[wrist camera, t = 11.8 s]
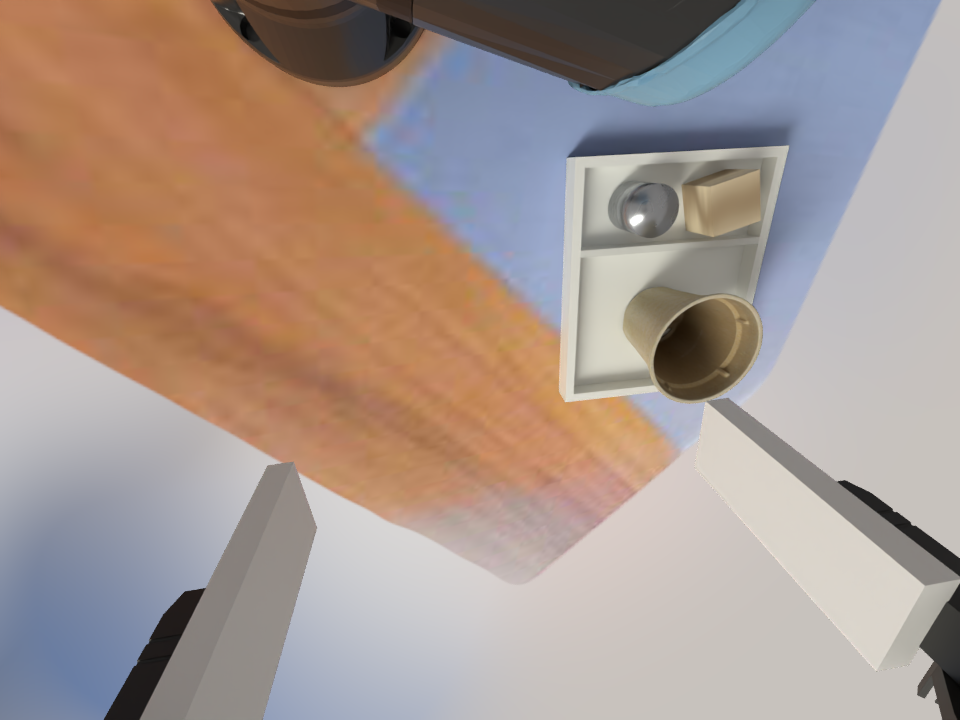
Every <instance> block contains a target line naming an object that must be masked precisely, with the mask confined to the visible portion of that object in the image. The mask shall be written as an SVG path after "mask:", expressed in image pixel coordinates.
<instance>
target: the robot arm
mask: <svg viewBox="0 0 960 720" xmlns="http://www.w3.org/2000/svg"><path fill="white" fill-rule="evenodd" d="M815 1H816V0H211V2H212V3H213V5H214V6H215V8H216V9H217V11H218V12H219V14H220V15H221V16H222V17H223V19H224V20H225V21H226V23H227V24H228V25H229V26H230V27H231V28H232V30H233V31H234V32H235V33H236V34H237V35H238V36H239V37H240V38H241V39H242V40H243V41H244V42H245V43H246V44H247V45H248V46H249V47H251V48H252V49H253V50H254V51H255V52H257V53H258V54H259V55H260V56H262V57H263V58H265V59H266V60H267V61H269V62H270V63H272V64H273V65H275V66H276V67H278V68H279V69H281V70H283V71H284V72H286V73H288V74H290V75H292V76H294V77H296V78H299V79H301V80H304V81H307V82H310V83H314V84H317V85H323V86H331V87H347V86H355V85H360V84H363V83H367V82H370V81H372V80H375V79H377V78H379V77H381V76H382V75H384V74H386V73H387V72H389V71H390V70H392V69H393V68H394V67H395V66H397V65H398V64H399V63H400V62H401V61H402V60H403V59H404V58H405V57H406V56H407V54H408V53H409V52H410V51H411V49H412V48H413V47H414V45H415V44H416V42H417V41H418V39H419V37H420V35H421V33H422V31H423V29H427V30H429V31H432V32H435V33H438V34H440V35H443V36H446V37H449V38H451V39H454V40H457V41H460V42H462V43H465V44H468V45H471V46H473V47H476V48H479V49H482V50H484V51H487V52H490V53H493V54H495V55H498V56H501V57H504V58H507V59H509V60H512V61H515V62H518V63H520V64H523V65H526V66H529V67H531V68H534V69H537V70H540V71H542V72H545V73H548V74H551V75H553V76H556V77H559V78H562V79H564V80H567V81H568V83H569V85H570V86H571V87H573V88H574V89H576V90H578V91H580V92H582V93H585V94H589V95H603V96H605V95H610V96H614V97H617V98H620V99H623V100H627V101H630V102H633V103H636V104H640V105H644V106H662V105H673V104H677V103H682V102H685V101H687V100H690V99H692V98H695V97H697V96H699V95H702V94H704V93H706V92H708V91H710V90H711V89H713V88H715V87H717V86H718V85H720V84H722V83H723V82H725V81H726V80H728V79H729V78H731V77H732V76H734V75H735V74H737V73H738V72H739V71H741V70H742V69H744V68H745V67H746V66H747V65H749V64H750V63H751V62H752V61H753V60H755V59H756V58H757V57H758V56H759V55H761V54H762V53H763V52H764V51H765V50H767V49H768V48H769V47H770V46H771V45H772V44H773V43H774V42H775V41H777V40H778V39H779V38H780V37H781V36H782V35H783V34H784V33H785V32H786V31H787V30H788V29H789V28H790V27H791V26H792V25H793V24H794V23H795V22H796V21H797V20H798V19H799V18H800V17H801V16H802V15H803V14H804V13H805V12H806V11H807V10H808V9H809V8H810V6H811V5H812V4H813V3H814V2H815ZM694 468H695V469H696V470H697V471H698V473H699V474H700V475H701V476H702V477H703V478H704V479H705V480H706V481H707V483H708V484H709V485H710V486H711V487H712V488H713V489H714V490H715V492H716V493H717V494H718V495H719V496H720V497H721V498H722V499H723V501H724V502H725V503H726V504H727V505H728V506H729V507H730V508H731V509H732V511H733V512H734V513H735V514H736V515H737V516H738V517H739V518H740V520H741V521H742V522H743V523H744V524H745V525H746V526H747V527H748V529H749V530H750V531H751V532H752V533H753V534H754V535H755V536H756V538H758V540H759V541H760V542H761V543H762V544H763V545H764V546H765V547H766V549H767V550H768V551H769V552H770V553H771V554H772V555H773V557H774V558H775V559H776V560H777V561H778V562H779V563H780V564H781V566H782V567H783V568H784V569H785V570H786V571H787V572H788V573H789V574H790V576H791V577H793V579H794V580H795V581H796V582H797V583H798V584H799V586H800V587H801V588H802V589H803V590H804V591H805V592H806V593H807V595H808V596H809V597H810V598H811V599H812V600H813V601H814V602H815V604H816V605H817V606H818V607H819V608H820V609H821V610H822V611H823V612H824V614H825V615H826V616H827V617H828V618H829V619H830V620H831V622H832V623H833V624H834V625H835V626H836V627H837V628H838V629H839V631H840V632H841V633H842V634H843V635H844V636H845V637H846V638H847V639H848V640H849V642H850V643H851V644H852V645H853V646H854V647H855V648H856V649H857V651H858V652H859V653H860V654H861V655H862V656H863V657H864V659H865V660H866V661H867V662H868V663H869V664H870V665H871V666H872V667H873V669H874V670H875V671H876V672H877V671H882V670H887V669H892V668H897V667H902V666H907V665H909V664H910V663H911V661H912V659H913V658H914V656H915V654H916V653H917V651H918V650H919V648H921V649H923V651H925V653H927V654H928V655H929V656H930V657H931V658H932V659H933V660H934V662H933V664H932V665H931V667H930V668H929V670H928V671H927V673H926V674H925V676H924V677H923V679H922V680H921V682H920V683H919V685H918V694H917V695H918V696H920V697H923V698H925V697H926V696H927V694H928V693H929V691H930V690H931V688H932V687H933V685H934V688H935V692H936V696H937V699H936V700H935V703H937V704H939V708H940V712H941V716H942V720H960V558H958V557H957V556H956V555H954V554H953V553H952V552H951V551H949V550H948V549H946V548H945V547H944V546H942V545H941V544H940V543H938V542H937V541H936V540H934V539H933V538H932V537H930V536H929V535H927V534H926V533H925V532H923V531H922V530H921V529H919V528H918V527H917V526H912V525H911V522H910V521H908V520H907V519H905V518H904V517H903V516H901V515H900V514H899V513H898V512H893V509H892V508H891V507H889V506H888V505H887V504H885V503H884V502H882V501H881V500H880V499H878V498H877V497H876V496H874V495H873V494H872V493H870V492H868V491H866V490H864V489H862V488H860V487H858V486H855V485H853V484H852V483H850V482H848V481H845V480H844V481H838V482H836V481H835V480H834V479H832V478H831V477H830V476H828V475H827V474H826V473H824V472H823V471H822V470H821V469H819V468H818V467H817V466H816V465H814V464H813V463H812V462H810V461H809V460H808V459H806V458H805V457H804V456H803V455H801V454H800V453H799V452H797V451H796V450H795V449H793V448H792V447H791V446H790V445H788V444H787V443H785V442H784V441H783V440H782V439H780V438H779V437H778V436H777V435H775V434H774V433H773V432H771V431H770V430H769V429H767V428H766V427H765V426H763V425H762V424H761V423H760V422H758V421H757V420H756V419H755V418H753V417H752V416H751V415H749V414H748V413H747V412H745V411H744V410H743V409H742V408H740V407H739V406H738V405H736V404H735V403H734V402H732V401H731V400H730V399H729V398H724V399H718V400H711V401H706V402H705V408H704V414H703V420H702V425H701V431H700V437H699V443H698V448H697V454H696V460H695V465H694ZM316 529H317V526H316V524H315V521H314V518H313V515H312V512H311V509H310V507H309V504H308V501H307V498H306V495H305V492H304V490H303V487H302V484H301V481H300V478H299V475H298V473H297V470H296V467H295V464H294V462H289V463H282V464H275V465H269V466H267V468H266V470H265V472H264V474H263V476H262V478H261V480H260V482H259V484H258V486H257V488H256V490H255V492H254V494H253V496H252V498H251V500H250V502H249V504H248V506H247V507H246V510H245V511H244V514H243V515H242V518H241V519H240V521H239V523H238V525H237V527H236V529H235V531H234V533H233V535H232V537H231V540H230V541H229V543H228V545H227V547H226V549H225V551H224V553H223V555H222V557H221V559H220V561H219V563H218V565H217V567H216V569H215V571H214V573H213V575H212V577H211V579H210V581H209V583H208V585H207V587H206V588H203V589H198V590H191V591H185V592H184V593H183V594H182V595H181V596H180V597H179V598H178V599H177V601H176V602H175V603H174V604H173V605H172V606H171V607H170V608H169V609H168V610H167V611H166V613H164V614H163V616H162V618H161V620H160V621H159V623H158V625H157V627H156V628H155V630H154V632H153V634H152V636H151V638H150V639H149V644H147V645H146V646H145V648H144V650H143V651H142V653H141V655H140V657H139V658H138V660H137V665H136V666H134V667H133V669H132V671H131V672H130V674H129V676H128V678H127V680H126V681H125V683H124V685H123V687H122V688H121V690H120V692H119V694H118V696H117V697H116V699H115V701H114V702H113V704H112V706H111V708H110V709H109V711H108V713H107V715H106V717H105V718H104V720H263V716H264V713H265V709H266V705H267V702H268V699H269V695H270V691H271V688H272V685H273V681H274V677H275V674H276V670H277V667H278V663H279V660H280V656H281V653H282V649H283V645H284V642H285V639H286V635H287V631H288V628H289V625H290V621H291V617H292V614H293V610H294V607H295V603H296V600H297V596H298V593H299V589H300V586H301V582H302V579H303V575H304V571H305V568H306V565H307V561H308V557H309V553H310V550H311V547H312V543H313V540H314V536H315V533H316Z"/></svg>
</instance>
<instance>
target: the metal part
mask: <svg viewBox="0 0 960 720" xmlns="http://www.w3.org/2000/svg"><path fill="white" fill-rule="evenodd" d="M678 211H679V199H678V196H677V193H676V192H675V190H674V189H673V188H671V187H670V186H668V185H666V184H659V183H651V182H642V181H628V182H625V183H623V184H622V185H620V186H619V187H618V188H617V189H616V190H615V191H614V192H613V194H612V196H611V198H610V200H609V204H608V216H609V219H610V221H611V223H612V224H613V225H614V226H615V227H617V228H619V229H621V230H624V231H627V232H630V233H633V234H636V235H639V236H642V237H645V238H655V237H658V236H660V235H662V234H664V233H665V232H666V231H668V230H669V229H670V227H671V226H672V225H673V224H674V222H675V220H676V218H677V215H678Z"/></svg>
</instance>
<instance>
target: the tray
mask: <svg viewBox="0 0 960 720" xmlns="http://www.w3.org/2000/svg"><path fill="white" fill-rule="evenodd" d="M788 149H789V146H771V147H753V148H735V149H717V150H698V151H680V152H662V153H644V154H626V155H608V156H589V157H572V158H567V163H566V193H565V223H564V252H563V282H562V312H561V342H560V372H559V393H560V394H561V396H562V397H563V399H564V401H565V402H571V401H580V400H589V399H598V398H607V397H616V396H624V395H633V394H642V393H651V392H660V391H659V390H658V389H657V388H656V387H655V385H654V383H653V381H652V379H651V376H650V372H649V368H648V365H647V364H646V362H645V361H644V360H643V358H642V357H641V356H640V354H639V353H638V352H637V350H636V349H635V348H634V347H633V345H632V344H631V343H630V342H629V341H628V339H627V338H626V336H625V334H624V332H623V320H624V312H625V310H626V308H627V306H628V305H629V303H630V302H631V301H632V300H633V299H634V298H635V297H636V296H637V295H638V294H639V293H641V292H643V291H644V290H647V289H649V288H654V287H668V288H671V289H675V290H679V291H683V292H688V293H692V294H697V295H710V294H717V293H724V294H732V295H736V296H738V297H741V298H743V299H745V300H746V301H748V302H749V303H750V304H751V305H752V303H753V299H754V295H755V290H756V286H757V282H758V278H759V273H760V269H761V265H762V260H763V256H764V252H765V247H766V243H767V239H768V235H769V230H770V226H771V222H772V217H773V213H774V209H775V205H776V200H777V196H778V192H779V187H780V183H781V179H782V175H783V170H784V166H785V162H786V157H787V153H788ZM725 169H760V205H761V221H759V222H756V223H753V224H750V225H747V226H744V227H742V228H739V229H736V230H733V231H730V232H727V233H725V234H722V235H719V236H716V237H711V236H706V235H702V234H698V233H694V232H690V231H686V228H685V217H684V207H683V196H682V186H681V185H682V184H685V183H688V182H691V181H694V180H696V179H699V178H702V177H705V176H708V175H711V174H713V173H716V172H719V171H722V170H725ZM628 181H642V182H651V183H659V184H666V185H668V186H670V187H671V188H673V189H674V190H675V192H676V193H677V196H678V199H679V211H678V215H677V218H676V220H675V222H674V224H673V225H672V226H671V227H670V229H669V230H668V231H666V232H665V233H664V234H662V235H660V236H658V237H655V238H645V237H642V236H639V235H636V234H633V233H630V232H627V231H624V230H621V229H619V228H617V227H615V226H614V225H613V224H612V223H611V221H610V219H609V216H608V204H609V200H610V198H611V196H612V194H613V192H614V191H615V190H616V189H617V188H618V187H619V186H620V185H622V184H623V183H625V182H628ZM670 330H671V329H670V328H668V329H667V330H666V331H665V332H664V333H663V335H662V336H664V335H666V334H667V333H668V332H669V331H670Z"/></svg>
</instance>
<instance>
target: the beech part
mask: <svg viewBox="0 0 960 720" xmlns="http://www.w3.org/2000/svg"><path fill="white" fill-rule="evenodd" d="M681 186H682V196H683V207H684V217H685V228H686V231H690V232H694V233H698V234H702V235H706V236H711V237H716V236H719V235H722V234H725V233H727V232H730V231H733V230H736V229H739V228H742V227H744V226H747V225H750V224H753V223H756V222H759V221H761V205H760V169H725V170H722V171H719V172H716V173H713V174H711V175H708V176H705V177H702V178H699V179H696V180H694V181H691V182H688V183H685V184H682V185H681Z"/></svg>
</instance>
